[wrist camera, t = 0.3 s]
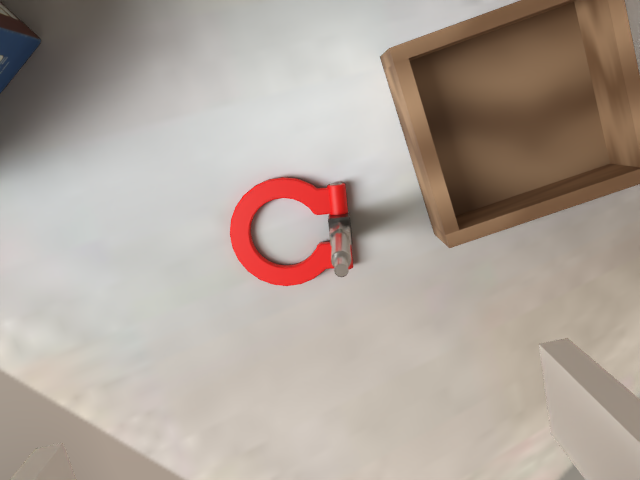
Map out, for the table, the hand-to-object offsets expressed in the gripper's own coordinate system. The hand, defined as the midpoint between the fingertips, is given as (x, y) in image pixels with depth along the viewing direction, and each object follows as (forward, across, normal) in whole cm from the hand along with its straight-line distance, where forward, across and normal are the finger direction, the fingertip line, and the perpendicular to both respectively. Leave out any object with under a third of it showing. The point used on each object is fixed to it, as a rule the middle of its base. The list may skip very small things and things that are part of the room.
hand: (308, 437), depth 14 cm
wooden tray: (+27, +16, +5) cm, 32 cm away
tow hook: (+28, -1, 0) cm, 28 cm away
